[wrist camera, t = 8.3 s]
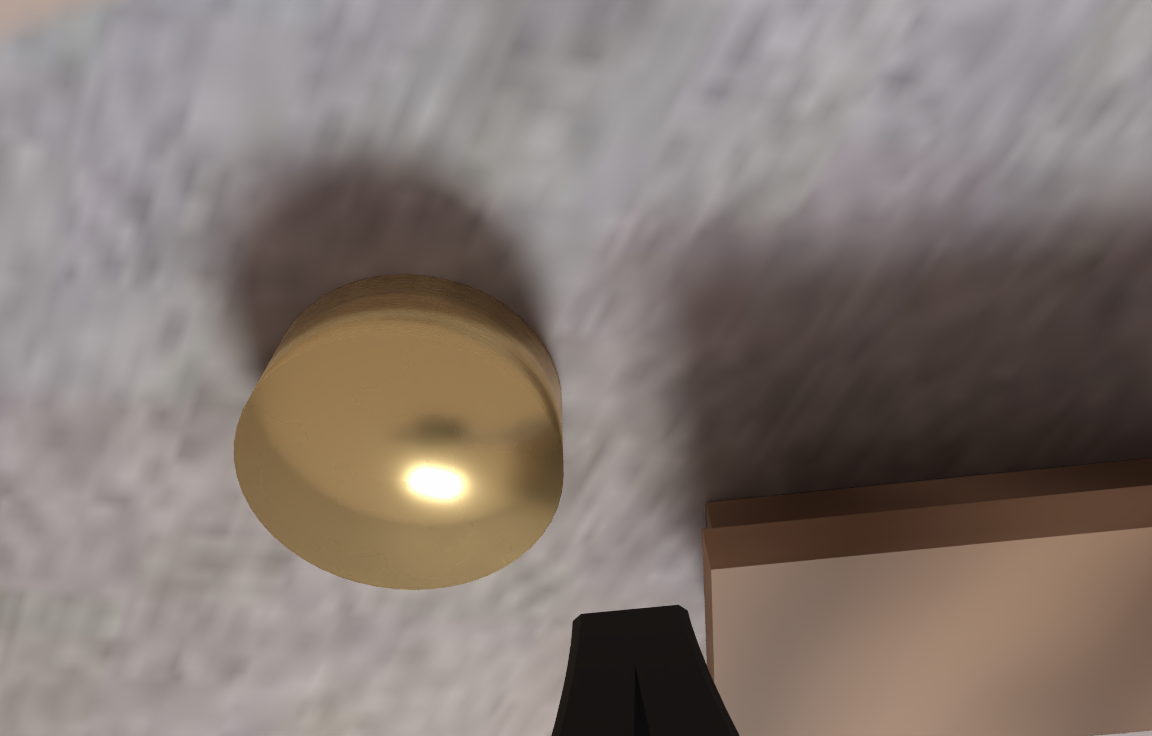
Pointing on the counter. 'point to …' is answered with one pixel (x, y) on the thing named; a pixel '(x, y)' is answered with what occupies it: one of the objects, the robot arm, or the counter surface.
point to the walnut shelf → (937, 606)
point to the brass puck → (405, 435)
